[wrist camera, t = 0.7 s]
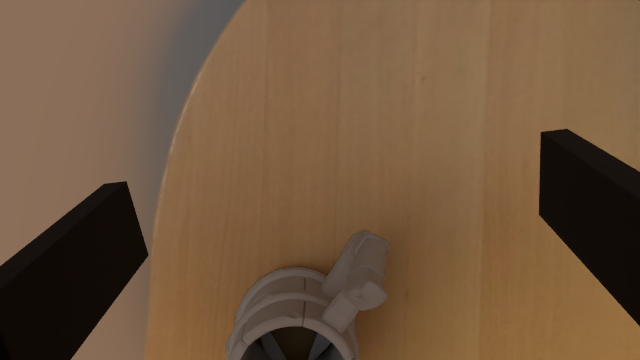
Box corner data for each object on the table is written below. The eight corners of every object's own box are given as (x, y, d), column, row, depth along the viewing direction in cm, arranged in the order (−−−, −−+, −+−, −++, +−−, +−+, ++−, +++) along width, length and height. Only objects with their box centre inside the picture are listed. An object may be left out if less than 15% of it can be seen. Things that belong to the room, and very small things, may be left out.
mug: (215, 331, 32) (162, 425, 20) (322, 191, 32) (331, 201, 20) (306, 398, 33) (307, 530, 21) (412, 258, 33) (473, 309, 21)
